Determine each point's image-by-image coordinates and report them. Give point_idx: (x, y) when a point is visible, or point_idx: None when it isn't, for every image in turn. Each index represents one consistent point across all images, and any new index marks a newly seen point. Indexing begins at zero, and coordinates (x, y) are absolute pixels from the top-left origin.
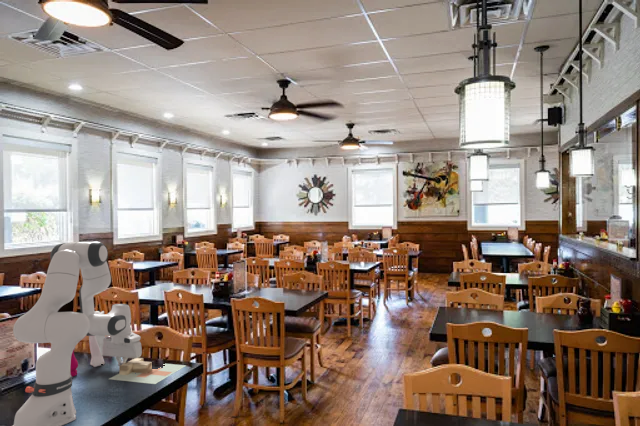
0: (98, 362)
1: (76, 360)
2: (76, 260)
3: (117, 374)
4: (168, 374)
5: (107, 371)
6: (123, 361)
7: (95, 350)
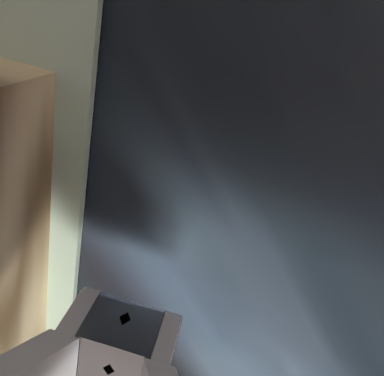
0: None
1: None
2: None
3: (89, 71)
4: None
5: (352, 242)
6: (25, 349)
7: None
